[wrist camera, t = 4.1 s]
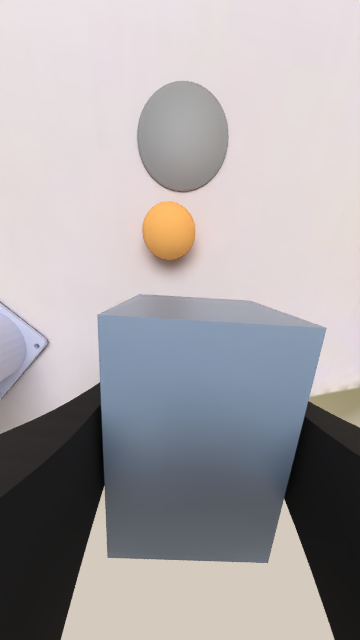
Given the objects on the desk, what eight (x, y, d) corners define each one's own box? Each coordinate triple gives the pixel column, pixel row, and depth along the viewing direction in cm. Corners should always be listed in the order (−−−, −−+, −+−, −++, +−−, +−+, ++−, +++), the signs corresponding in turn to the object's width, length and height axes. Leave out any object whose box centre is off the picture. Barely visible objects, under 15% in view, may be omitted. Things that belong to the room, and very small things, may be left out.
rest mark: (183, 210, 16) (183, 210, 16) (119, 142, 15) (118, 140, 14) (246, 139, 15) (247, 137, 14) (181, 57, 13) (181, 54, 13)
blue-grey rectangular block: (230, 440, 12) (267, 562, 7) (138, 436, 12) (107, 557, 7) (250, 300, 10) (326, 328, 5) (139, 294, 10) (97, 314, 5)
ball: (171, 271, 17) (168, 270, 13) (137, 238, 16) (124, 226, 12) (202, 236, 16) (210, 224, 12) (169, 200, 16) (165, 176, 12)
